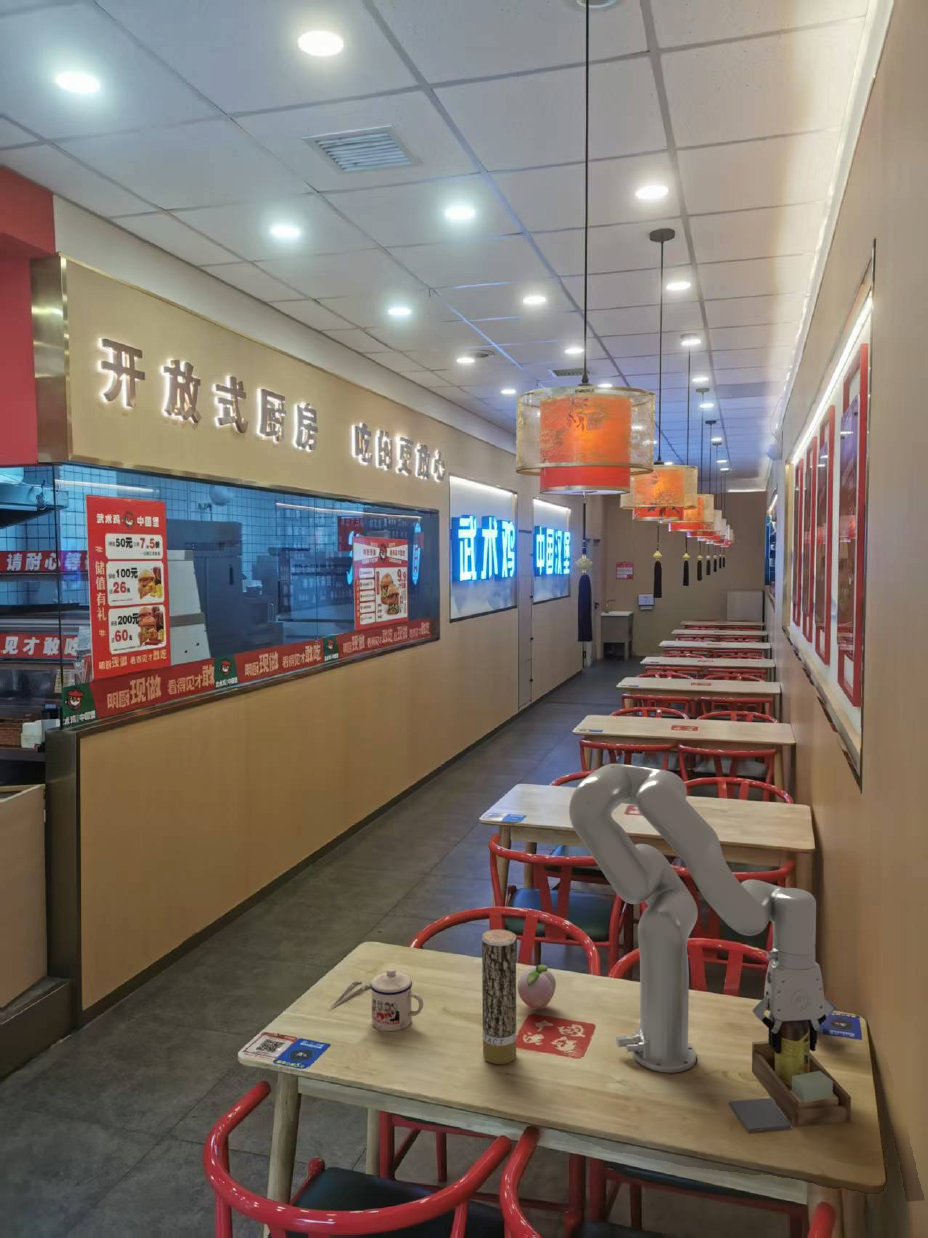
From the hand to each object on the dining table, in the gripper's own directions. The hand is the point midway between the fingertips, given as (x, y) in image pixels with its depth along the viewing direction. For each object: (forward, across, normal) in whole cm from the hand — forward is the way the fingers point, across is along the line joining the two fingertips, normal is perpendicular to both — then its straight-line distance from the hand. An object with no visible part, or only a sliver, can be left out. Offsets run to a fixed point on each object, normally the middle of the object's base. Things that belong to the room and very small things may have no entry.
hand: (792, 1047), depth 168 cm
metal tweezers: (+8, -86, +45) cm, 97 cm away
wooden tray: (+8, 0, -3) cm, 8 cm away
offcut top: (+4, 0, -8) cm, 9 cm away
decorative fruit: (+8, -42, +35) cm, 56 cm away
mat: (+8, -10, -8) cm, 15 cm away
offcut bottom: (+8, 0, -8) cm, 11 cm away
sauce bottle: (+8, 0, 0) cm, 8 cm away
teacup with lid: (+8, -74, +33) cm, 81 cm away
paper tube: (+8, -54, +17) cm, 57 cm away
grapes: (+8, +14, +17) cm, 24 cm away
